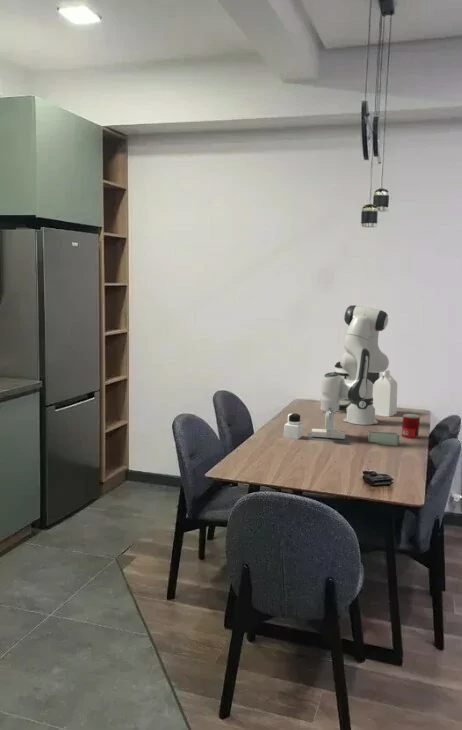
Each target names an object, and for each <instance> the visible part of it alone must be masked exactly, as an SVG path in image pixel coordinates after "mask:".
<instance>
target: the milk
mask: <svg viewBox="0 0 462 730" xmlns="http://www.w3.org/2000/svg"><path fill="white" fill-rule="evenodd" d="M390 373H391V372H390V369H386V370H385V371H384V372H382V376H380V377H379V378H378V379H377V380H375V381H374V383H373V404H372V405H373V407H374V408H375V416H381V417H386V416H388V417H387V418H389V416H390V417H392V416H394V414H395V415H397V410H398V405H397V403H398V382H397V381H396V379H394V377H393V376H392V375H391V374H390Z"/></svg>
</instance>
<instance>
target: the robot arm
mask: <svg viewBox="0 0 462 730" xmlns="http://www.w3.org/2000/svg"><path fill="white" fill-rule="evenodd" d="M343 319H344V322H345V324H347V325H348V328H347V331H346V334H345V337H344V340H343V346H344V350H345V352H344V353H343V354H342V355H341V357H340V361H339V362H340V363H341V366H342V368H343V369H344V370H345V371H346V372H347V373H348V374H349V376H350V378H351V380H348V379H344V378H342V377H341V376H340V375H339V374H338V373H335V371H334V372H333V371H332V372H327V373H325V374H324V375H323V377H322V381H321V382H322V383H321V398H320V410H321V411H322V413H323V414H324V429H326V431H327V434H326V436H330V432H331V430H334V429H333V428H334V417H335V416H334V415H336V414H337V412H336V411H339V397H340V398H343V399H348V400H351V404H350V405H349V406H348V407H347V408H346V409H347V411H346V412H347V413H346V415H345V417H344V418H343V420H342V422H346V423H349V424H354V425H360V426H361V425H363V426H367V425H375V424H376V425H377V424H379V421H378V420H377V419H376V415H375V408H374V407H373V405H372V404H373V386H374V383H373V382H372V381H371V380H370V379H368V377H369V376H368V375H369V373H383V372H384V371H385V370H388V368H389V364H390V361H389V358H388V356H387V354H385V353H384V352H382V351H381V350H380V347H379V334H380V332H382V331H384V330H385V329H386V327H387V326H388V323H389V316H388V313H387V312H386V311H383V310H381V309H380V310H379V309H376V308H372V307H370V306H369V307H368V306H367V307H365V306H360V305H359V306H357V305H352V304H351V305H349V306H347V308H346V309H345V312H344V313H343Z"/></svg>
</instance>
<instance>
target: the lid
mask: <svg viewBox="0 0 462 730" xmlns="http://www.w3.org/2000/svg"><path fill="white" fill-rule="evenodd" d="M311 433H312V434H311V436H312V437H326V438H340V439H345V436H346V430H341V429H331V432H330V436H326V434H327V431H326V429H325V428H311Z"/></svg>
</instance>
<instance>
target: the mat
mask: <svg viewBox="0 0 462 730" xmlns="http://www.w3.org/2000/svg"><path fill="white" fill-rule="evenodd" d="M311 434H312V432H311V433H310V432H308V433H307V441H318V442H319V441H320V442H335V443H348V444H349V443H351V442H350V437H349V435H345V439H340V438H326V437H312V436H311Z"/></svg>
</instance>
